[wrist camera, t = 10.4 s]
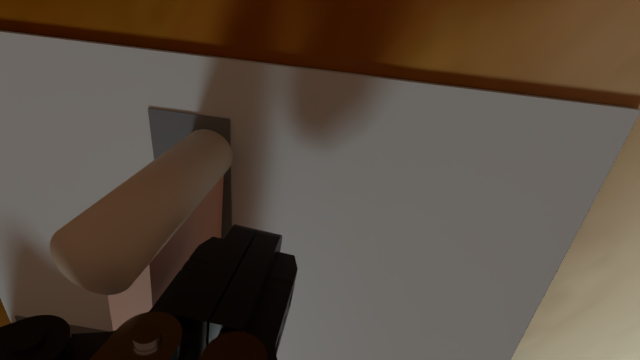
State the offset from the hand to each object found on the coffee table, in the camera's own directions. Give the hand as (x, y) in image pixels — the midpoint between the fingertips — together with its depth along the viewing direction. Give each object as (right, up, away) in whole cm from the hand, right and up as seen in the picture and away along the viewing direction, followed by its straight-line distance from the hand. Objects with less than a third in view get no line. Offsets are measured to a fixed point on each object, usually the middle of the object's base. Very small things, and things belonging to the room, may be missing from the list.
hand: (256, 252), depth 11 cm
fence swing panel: (-3, -1, +4) cm, 5 cm away
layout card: (-2, -3, +6) cm, 7 cm away
